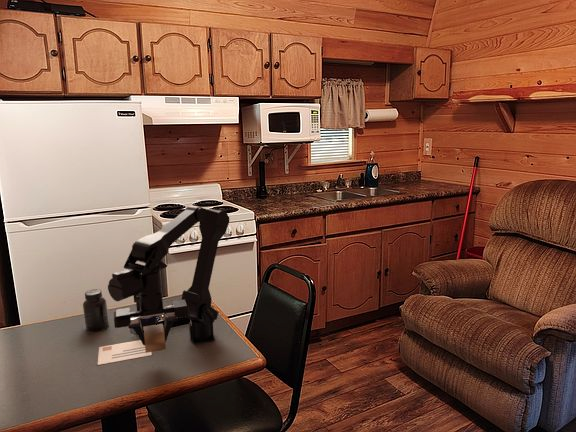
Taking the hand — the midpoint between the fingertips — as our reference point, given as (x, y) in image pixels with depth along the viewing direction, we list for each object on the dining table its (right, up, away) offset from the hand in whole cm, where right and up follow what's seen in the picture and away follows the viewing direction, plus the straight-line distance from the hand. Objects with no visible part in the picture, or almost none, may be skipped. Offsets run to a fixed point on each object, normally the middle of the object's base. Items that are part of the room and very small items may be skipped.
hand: (154, 342), depth 119 cm
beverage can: (-9, -2, +21) cm, 23 cm away
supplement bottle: (-25, -2, +23) cm, 34 cm away
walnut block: (0, -1, 0) cm, 1 cm away
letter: (-11, -5, +8) cm, 14 cm away
